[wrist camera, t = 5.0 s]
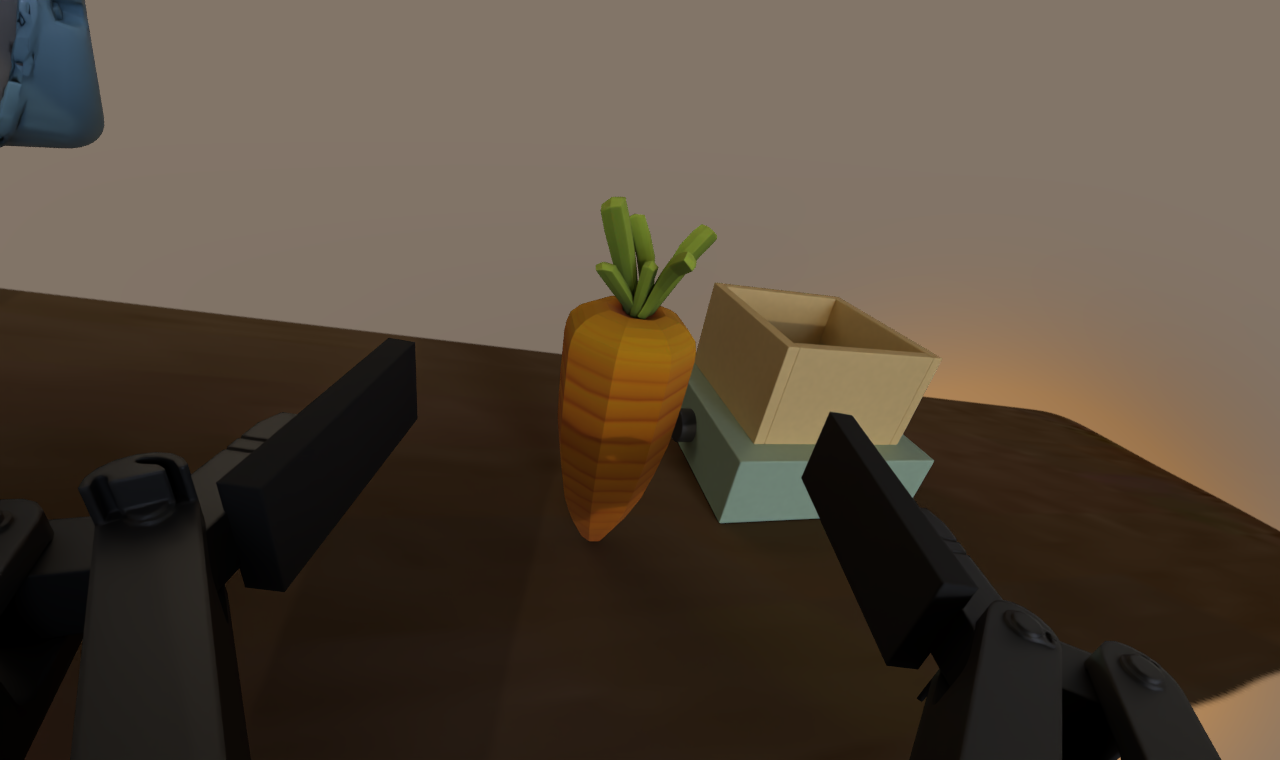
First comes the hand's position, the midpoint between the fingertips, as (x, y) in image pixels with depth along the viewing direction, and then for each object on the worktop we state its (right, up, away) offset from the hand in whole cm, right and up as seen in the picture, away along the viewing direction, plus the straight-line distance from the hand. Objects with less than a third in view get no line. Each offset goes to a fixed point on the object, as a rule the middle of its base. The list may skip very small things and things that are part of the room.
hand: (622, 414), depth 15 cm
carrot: (-2, -6, +7) cm, 10 cm away
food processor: (+9, -4, +16) cm, 19 cm away
